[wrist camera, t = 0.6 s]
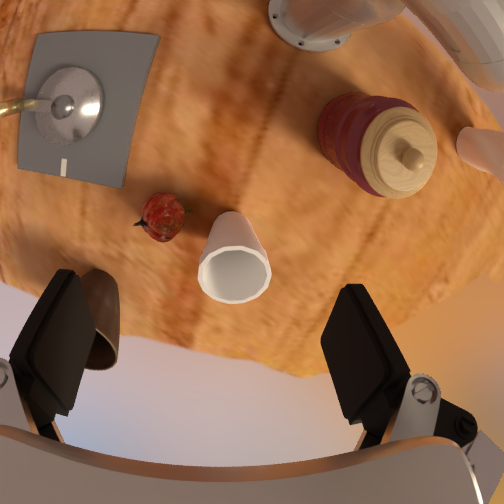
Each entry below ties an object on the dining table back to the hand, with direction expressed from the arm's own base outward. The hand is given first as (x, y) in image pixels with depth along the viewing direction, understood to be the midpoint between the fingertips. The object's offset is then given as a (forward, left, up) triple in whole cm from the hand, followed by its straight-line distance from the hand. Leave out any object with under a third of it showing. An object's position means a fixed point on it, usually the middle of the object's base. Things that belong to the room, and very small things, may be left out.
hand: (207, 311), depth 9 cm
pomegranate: (+13, -5, -35) cm, 37 cm away
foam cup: (+14, +6, -35) cm, 38 cm away
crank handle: (-1, -26, -32) cm, 42 cm away
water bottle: (-19, +44, -35) cm, 59 cm away
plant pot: (+33, -16, -35) cm, 51 cm away
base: (-1, -24, -34) cm, 42 cm away
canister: (-8, +19, -35) cm, 40 cm away
